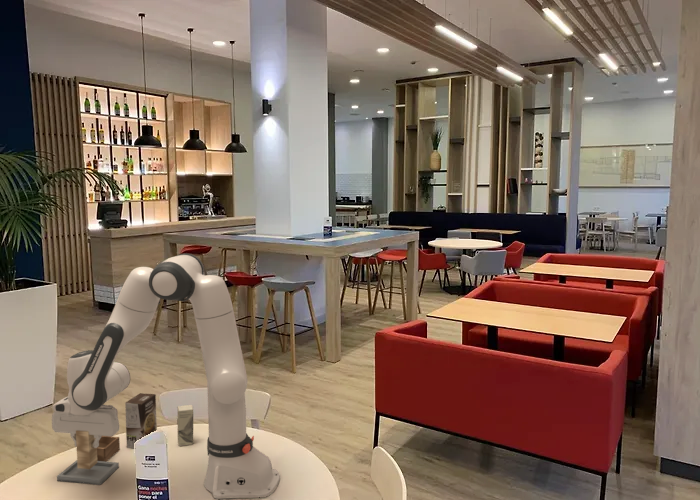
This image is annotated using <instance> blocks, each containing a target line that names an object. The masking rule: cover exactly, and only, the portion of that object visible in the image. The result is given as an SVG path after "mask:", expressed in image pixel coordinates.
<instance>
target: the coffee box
mask: <svg viewBox="0 0 700 500" xmlns="http://www.w3.org/2000/svg"><path fill="white" fill-rule="evenodd" d="M156 397H157V394H155V393H154V394H153V393H143V392H142V393H138V394H137V395H135V396H134V397H132V398H131V399H129V400H127V401H126V402H124V404H125V430H126V431H125V434H126V438H125V439H126V448H129V449H130V448H131V449H135V448H134V443H135V442H136V441H137V440H139V439H141V438H142V437H144V436H146V435H148V434H150V433H151V432H154V431H156V430H157V431H158V426H157V403H156V402H157V398H156Z"/></svg>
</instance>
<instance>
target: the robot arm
mask: <svg viewBox="0 0 700 500" xmlns="http://www.w3.org/2000/svg"><path fill="white" fill-rule="evenodd" d="M204 273H205V267H204V264H203V262H202V260H201V259H200V258H199V257H198V256H196V255H194V254H192V253H180V254H177V255H175V256H172V257H169V258H166V259H165V260H163V261H162V262H160V263H158V264H157V265H155V267H154V268H152V267H149V266H139V267H135V268H134V269H132V270H131V271H130V273H129V274H128V276H127V277H126V279H125V281H124V283H123V285H122V288H121V289H120V291H119V294H118V297H117V300H116V303H115V305H114V307H113V309H112V312H111V314H110V316H109V319H108V321H107V323H106V325H105V327H104V328H103V329H102V332H101V334H100V336H99V337H98V338H97V341H96V343H95V346H94V348H93V349H91V350H89V349H87V350H82V351H80V352H77V353H75V354H73V355H71V356H70V357H69V358H68V362H67V369H66V383H67V385H68V389H69V390H68V393H67V396H65V397H64V398H62V399H60V400H59V401H57V402H56V403H54V404H53V405H52V411H53V412H52V414H51V428H52V430H53V432H54V433H61V434H63V433H64V434H69V435H70V437H71V439H72V440H73V442H74V447H75V448H77V445H76V431H88V432H89V435H94V438H96V439H95V440H94V441H93V442H92V443H91V445H92V446H91V448H97V447H98V446H99V440H100V438H101V436H113V437H114V436H115V435H116V434H117V433H118V432H119V431H120V422H119V421H120V420H119V416H118V414H119V413H118V409H117V408H116V407H115V406H114V405H111V404H106V403H107V402H109V401H110V400H112V399H113V398H114V397H116V396H117V395H119V394H121V392H124V391H125V390H126V389H127V388H128V387H129V385H130V383H131V373H130V371H129V369H128V368H127V366H126V365H125V364H123V363H121V362H118V361H115V360H116V359H117V357H118V355H119V353H120V352H121V350H123V348H124V347H126V345H127V344H128V343H130V342H131V341H132V340H133V339H135V338H136V337H138V336H139V335H140V334H142V333H143V332H144V331H145V330H147V328H148V327H149V325H150V324H151V322H153V321H152V320H153V318H154V317H155V314H156V311H157V309H158V306H159V303H160V301H161V299H162V300H165V301H178V302H182V303H183V302H186V301H188V300H189V301H190V303H191V306H192V310H193V316H194V320H195V321H194V322H195V325H196V329H197V334H198V339H199V343H200V344H199V345H200V350H201V355H202V361H203V367H204V370H205V371H204V372H205V377H206V381H207V382H206V384H207V385H206V386H207V411H208V412H207V413H208V421H207V423H208V437H207V440H206V441H207V443H206V451H207V456H208V461H207V469H206V475H205V478H204V481H203V485H204V488H205V489H206V490H207V491H209V492H210V493H211V494H212V496H213V498H214V499H215V500H217V499H219V500H220V499H249V498H250V499H254V498H259V497H260V498H266V496H267V497H268V496H270V495H271V494H272V493H274V491H275V490H276V488H278V486H279V483H280V479H281V478H280V477H281V476H280V472H279V470H278V469H275V468H273V466H272V462H271V459H270V457H269V456H268V455H266V454H265V453H263V452H262V451H260V450H259V449H257V448H256V447H255V446H254V440H255V436H254V435H252V437H250V436H249V435H248V433H247V408H246V391H247V387H248V374H247V370H246V365H245V360H244V355H243V351H242V350H243V349H242V346H241V343H240V342H241V341H240V337H239V332H238V327H237V322H236V317H235V311H234V307H233V302H232V299H231V295H230V293H229V292H230V291H229V289H228V287H227V284H226V282H225V280H224V279H223V278H222V277H221V276H219V275H215V274H207V275H206V274H204Z"/></svg>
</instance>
